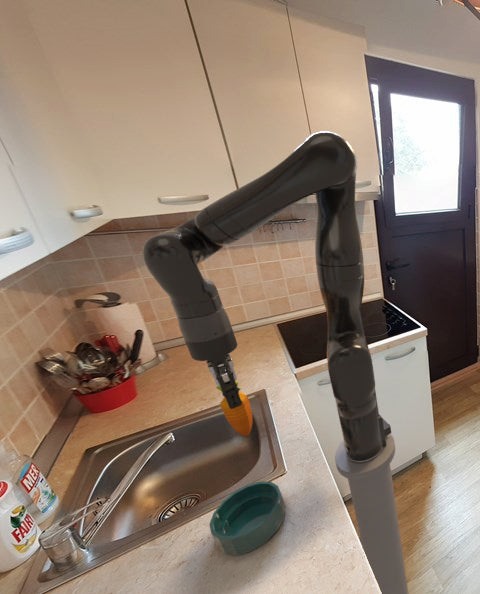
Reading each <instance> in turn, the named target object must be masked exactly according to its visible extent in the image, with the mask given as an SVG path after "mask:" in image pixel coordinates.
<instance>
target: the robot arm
mask: <svg viewBox="0 0 480 594" xmlns="http://www.w3.org/2000/svg"><path fill="white" fill-rule="evenodd" d="M357 169H358V158H357V155H356V152H355V150H354V148H353V147H352V146H351V144H350V143H349V142H348V141H347V140H346V139H345V138H343V137H342V136H340V135H339V134H337V133H335V132H330V131H319V132H315V133H312V134H311V135H310V136H309V137H307V138H306V140H305V141H304V142H303V143H302V144H300V145H299V146H298V147H297V148H296V149H295V150H294V151H293V152H292V153H290V154H289V155H288V156H287V157H286V158H285V159H283V160H282V161H281V162H279V163H278V164H277V165H276V166H274V167H273V168H271V169H270V170H268V171H267V172H265V173H264V174H262V175H261V176H259V177H257V178H256V179H254V180H252V181H250V182H248V183H246V184H244V185H242V186H241V187H239V188H237V189H234V190H233V191H232V192H230V193H228V194H225V195H224V196H223V197H221V198H219V199H217V200H216V201H213V203H210V204H209V205H207V206H205V207H204V208H202V209H201V210H199V211H198V212H197V213H196V214H195V216H194V217H193V218H190V219H188V220H187V221H185V222H183V223H181V224H180V225H177V226H176V227H174V228H171V229H169V230H166V231H164V232H161V233H158V234H154V235H152V236H150V237H149V238H148V239H147V240H145V242H144V244H143V246H142V259H143V262H144V265H145V266H146V268H147V270H148V272H149V273H150V274H151V276H152V277H153V278H154V280H155V281H156V282H157V284H158V285H159V286H160V287H161V290H163V291H164V292H165V293H166V294H167V295H168V298H169V300H170V303H171V305H172V308H173V311H174V313H175V315H176V318H177V321H178V327H179V329H180V332H181V336H182V337H183V340H184V342H185V344H186V347H187V349H188V353H189V355H190V357H191V358H192V359H193V360H194V361H197V362H206V364H207V368H208V370H209V373H210V374H211V375H212V376H213V379H214V382H215V384H216V387H217V386H220V387H221V389H222V392H221V394H222V397H223V398H225V397H226V400H227V402H228V405H229V408H230V409H233V408H236V407H238V406H241V405H242V402H241V399H240V396H239V393H238V392H240V390H239V388H240V387H239V386H238V385H236V382H235V381H237V379H238V377H237V375H236V372H235V369H234V365H235V364H234V361H233V359H232V358H231V355H230V354H231V353H233V352H234V351H235V350H236V349H237V348H238V342H237V338H236V335H235V333H234V329H233V326H232V324H231V321H230V318H229V316H228V313H227V311H226V310H225V308H224V306H223V302H222V299H221V296H220V293H219V290H218V287H217V286H216V285H215V283H214V282H213V281H212V280H211V279H208V278H204V276H203V275H202V273H201V271H200V269H199V266H198V265H199V264H201V263H203V262H205V260H207V259H209V258H210V257H213V255H214V254H217V253H218V252H219V251H220V250H222V249H224V248H225V247H226V246H229V245H231V244H234V243H236V242H238V241H240V240H241V239H243V238H244V237H246V236H248V235H249V234H251V233H253V232H255V231H256V230H258V229H259V228H261V227H262V226H264V225H265V224H267V223H268V222H270V221H271V220H273V219H274V218H276V216H278V215H279V214H281V213H282V212H283V211H285V210H287V209H288V208H289V207H291V206H292V205H295V204H296V203H298V202H300V201H301V200H304V199H306V198H307V197H310V196H312V195H315V201H316V208H317V209H316V210H317V211H316V212H317V213H316V227H315V228H316V229H315V240H314V241H315V245H314V247H315V248H314V249H315V250H314V253H315V266H316V276H317V281H318V287H319V292H320V295H321V299H322V302H323V305H324V309H325V311H326V316H327V317H326V318H327V344H326V362H327V371H328V376H329V381H330V384H331V389H332V394H333V397H334V401H335V404H336V410H337V414H338V419H339V424H340V428H341V433H342V438H343V440H344V443H345V445H344V447H345V449H346V455H347V458H348V459H349V460H350V461H351V462H353V463H366V462H369V461H371V460H373V459H375V458H376V457H377V456H378V455H379V454H380V453H381V452H382V450H383V448H384V447H386V438H385V436H387V435H389V434H390V433H391V434H392V427H391V424H390V423H388V422H387V421H386V420H385V419H384V418H383V416H381V414H380V412H379V406H378V400H377V392H376V379H375V373H374V372H375V371H374V364H373V359H372V354H371V352H370V347H369V345H368V342H367V339H366V335H365V330H364V325H363V318H362V303H363V298H364V289H365V266H364V255H363V245H362V239H361V234H360V228H359V224H358V223H359V222H358V218H357V212H356V183H357V180H356V179H357ZM227 388H228V389H227ZM238 390H239V391H238ZM344 443H343V444H344Z"/></svg>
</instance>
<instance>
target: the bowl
mask: <svg viewBox="0 0 480 594" xmlns="http://www.w3.org/2000/svg"><path fill="white" fill-rule="evenodd" d="M286 510H287V507H286V504H285V501H284V497H283V495H282V491H281V489H280V487H279V485H278V484H276V483H274V482H272V481H256V482H253V483H250V484H247V485H245V486H243V487H241V488H239V489H237V490H235V491H234V492H233V493H231V494H230V495H229V496H228V497H226V498H225V499H224V500H223V501H222V502H220V504H219V505H218V506H217V508H216V509H215V511H214V512H213V514H212V516H211V519H210V522H209V530H210V533H211V536H212V539H213V540H214V543H215V545H216V547H217V548H218V550H219V551H220V552H221V553H223V554H224V555H226V556H240V555H243V554H246V553H248V552H251V551H254V550H256V549H258V548H259V547H260V546H262V545H263V544H264V543H266V542H267V541H269V540H270V539H271V537H272V536H273V535H275V533H277V531H278V530H279V528H280V527H281V525H282V523H283V521H284V520H285V517H286V512H287V511H286Z"/></svg>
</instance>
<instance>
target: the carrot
mask: <svg viewBox="0 0 480 594" xmlns="http://www.w3.org/2000/svg"><path fill="white" fill-rule="evenodd" d="M235 382H236V385H237V386H238V385H239V381H237V380H235ZM238 388H239V390H238V391H239V392H238V393H239V396H240V399H241V402H242V405H241V406H238V407H236V408H233V409H230V408H229V405H228V402H227V400H226V397H223V399H222V400H221V401H220V403H219V406H220V409H221V411H222V413H223V415H224V416H225V418H226V420H227V422H228V424H230V426H231V427H232V428H233V430H235V431H234V432H237V434H239V435H241V436H242V437H245V438H246V437H249V436H250V434H251V431H252V428H253V422H254V421H253V409H252V406H251V402H250V400H249V397H248V396H247V394H245V393H244V392H243V391H241V389H242V387H238ZM216 389H217V390H219V391H220V392H221V393H222V389H221V387H220V386H217V385H216ZM227 389H228V388H227Z"/></svg>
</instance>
